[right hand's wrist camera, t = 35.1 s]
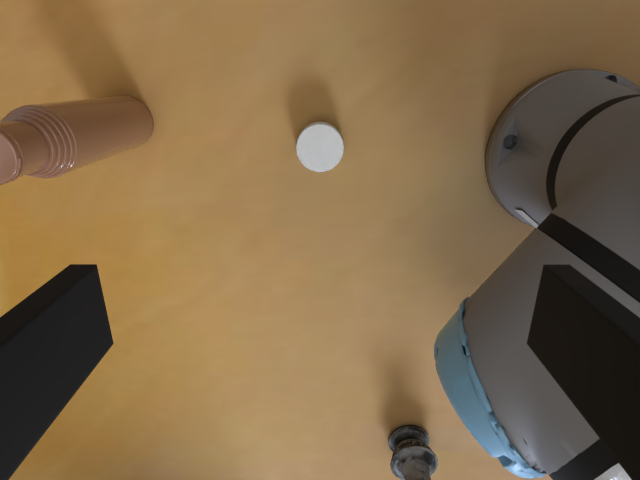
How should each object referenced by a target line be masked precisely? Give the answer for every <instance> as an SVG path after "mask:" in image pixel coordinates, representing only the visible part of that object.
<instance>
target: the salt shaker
mask: <svg viewBox="0 0 640 480" xmlns="http://www.w3.org/2000/svg"><path fill="white" fill-rule="evenodd" d="M428 443H429V437H428V435H427V433H426V432H425V431H424V430H423V429H421V428H419V427H416V426H404V427H401V428H399V429H397V430H395V431H394V432H393V433H392V434H391V436H390V438H389V447H390V449H391V450H392V451H393V456H392V460H391V463H390V465H391V470H392V472H393V474H394V475H395V476H396V477H398V478H400V479H401V480H431V478H430V476H431V475H432V474H433V473H434V472H435V470H436V469H437V466H438V459H437V457H436V455H435V454H434V452H433V451H432V450H431V449H430V448H429V447H428Z"/></svg>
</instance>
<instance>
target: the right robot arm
mask: <svg viewBox="0 0 640 480" xmlns="http://www.w3.org/2000/svg"><path fill="white" fill-rule="evenodd" d="M485 169H486V176H487V181H488V184H489V187H490V190H491V192H492V194H493V196H494V197H495V199H496V200H497V202H498V203H499V204H500V205H501V206H502V207H503V208H504V209H505V210H506V211H507V212H508V213H509V214H511V215H512V216H514V217H515V218H517V219H518V220H520V221H522V222H524V223H526V224H528V225H531V226H534V227H535V229H534V230H533V232H532V233H531V234H530V235H529V236H528V237H527V238H526V239H525V240H524V241H523V242H522V243H521V244H520V245H519V246H518V247H517V248H516V249H515V250H514V252H513V253H512V254H511V255H510V256H509V257H508V258H507V259H506V260H505V261H504V262H503V263H502V264H501V265H500V266H499V267H498V268H497V269H496V270H495V272H494V273H493V274H492V275H491V276H490V277H489V278H488V279H487V280H486V281H485V282H484V283H483V284H482V285H481V286H480V287H479V288H478V289H477V290H476V291H475V293H474V294H473V295H472V296H471V297H467V298H466V299H464V300H463V301H462V303H461V304H460V306H459V309H458V311H457V312H456V313H455V314H454V315H453V317H452V318H451V319H450V320H449V321H448V323H447V324H446V325H445V326H444V327H443V329H442V330H441V331H440V332H439V334H438V336H437V338H436V341H435V345H434V357H435V361H436V370H437V373H438V376H439V379H440V381H441V384H442V386H443V389H444V391H445V393H446V395H447V397H448V399H449V401H450V402H451V404H452V406H453V408H454V409H455V411H456V412H457V414H458V416H459V417H460V419H461V420H462V422H463V423H464V424H465V426H466V427H467V429H468V430H469V431H470V433H471V434H472V435H473V437H474V438H475V439H476V440H477V441H478V443H479V444H480V445H481V446H482V447H483V448H484V449H485V450H486V451H487V452H488V453H489V454H490V455H491V456H492V457H497V458H498V459H499V461H500V462H501V464H502V466H503V467H504V468H506V469H507V470H509V471H510V472H512V473H513V474H515V475H517V476H519V477H523V478H528V479H531V478H534V477H538V478H541V477H543V476H544V475H545V474H546V473H547V474H548V475H549V476H550V477H551V478H552V479H553V480H640V87H639V86H637V85H636V84H634V83H633V82H631V81H630V80H628V79H626V78H624V77H622V76H619V75H617V74H614V73H609V72H606V71H601V70H591V69H585V70H569V71H563V72H559V73H556V74H553V75H550V76H547V77H545V78H543V79H541V80H539V81H537V82H535V83H533V84H532V85H530V86H529V87H528V88H526V89H525V90H523V91H522V92H521V93H520V94H519V95H518V96H517V97H515V98H514V99H513V100H512V101H511V103H510V104H509V105H508V106H507V107H506V108H505V110H504V111H503V113H502V114H501V115H500V117H499V119H498V120H497V122H496V124H495V126H494V128H493V130H492V133H491V135H490V138H489V141H488V145H487V150H486V158H485ZM112 345H113V340H112V335H111V330H110V325H109V321H108V316H107V311H106V307H105V302H104V297H103V293H102V288H101V283H100V279H99V274H98V269H97V265H69V266H68V267H67V268H65V269H64V270H63V271H61V272H60V273H59V274H57V275H56V276H55V277H53V278H52V279H51V280H49V281H48V282H47V283H45V284H44V285H43V286H41V287H40V288H39V289H37V290H36V291H35V292H34V293H32V294H31V295H30V296H28V297H27V298H26V299H24V300H23V301H22V302H20V303H19V304H18V305H16V306H15V307H14V308H12V309H11V310H10V311H8V312H7V313H6V314H4V315H3V316H2V317H0V480H9V478H10V477H11V476H12V474H13V473H14V472H15V470H16V469H17V468H18V467H19V465H20V464H21V463H22V461H23V460H24V459H25V457H26V456H27V455H28V454H29V452H30V451H31V450H32V448H33V447H34V446H35V444H36V443H37V442H38V441H39V439H40V438H41V437H42V435H43V434H44V433H45V432H46V430H47V429H48V428H49V426H50V425H51V424H52V422H53V421H54V420H55V419H56V417H57V416H58V415H59V413H60V412H61V411H62V409H63V408H64V407H65V406H66V404H67V403H68V402H69V400H70V399H71V398H72V397H73V395H74V394H75V393H76V391H77V390H78V389H79V387H80V386H81V385H82V384H83V382H84V381H85V380H86V378H87V377H88V376H89V374H90V373H91V372H92V371H93V369H94V368H95V367H96V365H97V364H98V363H99V362H100V360H101V359H102V358H103V356H104V355H105V354H106V352H107V351H108V350H109V349H110V347H111V346H112Z"/></svg>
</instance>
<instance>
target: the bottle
mask: <svg viewBox="0 0 640 480" xmlns="http://www.w3.org/2000/svg"><path fill="white" fill-rule="evenodd" d="M152 131H153V118H152V115H151V113H150V111H149V109H148V108H147V107H146V105H145V104H144V103H142V102H141V101H140V100H138V99H136V98H134V97H131V96H125V95H124V96H113V97H103V98H94V99H84V100H74V101H64V102H54V103H44V104H34V105H26V106H22V107H19V108H17V109H14V110H13V111H11V112H10V113H8V114H7V115H6V116H5V117H4V118H3V119H2V120H1V121H0V184H5V183H9V182H11V181H14V180H15V179H17V178H18V177H21V176H24V175H27V176H33V177H38V178H53V177H58V176H61V175H64V174H66V173H69V172H71V171H74V170H77V169H79V168H82V167H84V166H87V165H90V164H92V163H95V162H97V161H100V160H102V159H105V158H108V157H110V156H113V155H115V154H118V153H121V152H123V151H126V150H128V149H131V148H134V147H136V146H139V145H141V144H143V143H145V142H146V141H147V140H148V139H149V138H150V136H151V134H152Z"/></svg>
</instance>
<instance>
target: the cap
mask: <svg viewBox="0 0 640 480" xmlns="http://www.w3.org/2000/svg"><path fill="white" fill-rule="evenodd" d="M297 140H298V141H297V143H296V145H297V146H296V151H297V156H298V158H299V160H300V161H301V163H302V164H303V165H304V166H305V167H306V168H308V169H310V170H312V171H316V172H324V171H328V170H330V169H332V168H334V167H335V166H336V165H337V164H338V163H339V161H340V160H341V158H342V156H343V151H344V144H343V141H342V140H343V139H342V137H341V134H340V132H339V131H338V130H337V128H335V127H334V126H333V125H331V124H329V123H328V122H327V123H326V122H323V121H322V122H318V121H317V122H314V123H313V122H312V123H311V124H309V125H307V126H306V127H305V128H303V130H302V131H301V132H300V134H299V137H298V139H297Z"/></svg>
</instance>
